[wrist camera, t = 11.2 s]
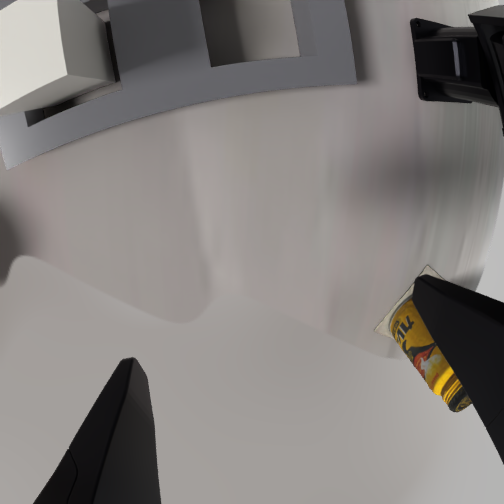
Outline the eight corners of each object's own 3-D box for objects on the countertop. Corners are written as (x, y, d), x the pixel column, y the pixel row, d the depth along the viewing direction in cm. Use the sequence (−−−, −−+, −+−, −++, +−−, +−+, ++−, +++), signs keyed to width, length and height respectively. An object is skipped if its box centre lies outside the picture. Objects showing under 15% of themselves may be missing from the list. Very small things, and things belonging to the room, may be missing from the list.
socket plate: (305, -72, 11) (343, -106, 6) (336, 83, 17) (388, 85, 12) (0, 0, 8) (-45, -15, 4) (25, 160, 15) (-21, 187, 10)
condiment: (372, 330, 29) (435, 421, 19) (426, 264, 26) (509, 344, 16) (406, 343, 32) (461, 418, 22) (452, 287, 29) (520, 355, 19)
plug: (105, 22, 12) (55, -20, 5) (115, 82, 14) (67, 74, 7) (44, 47, 12) (-31, 32, 5) (54, 105, 14) (-20, 121, 7)
